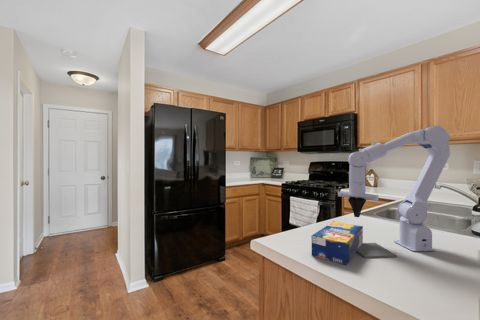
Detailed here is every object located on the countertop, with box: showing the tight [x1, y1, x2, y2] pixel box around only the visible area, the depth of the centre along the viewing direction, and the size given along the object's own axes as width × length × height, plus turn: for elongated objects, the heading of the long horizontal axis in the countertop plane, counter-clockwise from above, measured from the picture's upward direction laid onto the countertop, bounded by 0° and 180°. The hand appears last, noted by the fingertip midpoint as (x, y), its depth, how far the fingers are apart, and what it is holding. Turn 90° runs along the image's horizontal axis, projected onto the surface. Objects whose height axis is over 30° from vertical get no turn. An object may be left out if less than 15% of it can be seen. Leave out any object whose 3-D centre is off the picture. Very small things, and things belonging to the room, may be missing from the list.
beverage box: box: [311, 221, 364, 266], centre depth 82 cm, size 7×11×22 cm
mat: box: [356, 242, 398, 259], centre depth 80 cm, size 11×11×1 cm
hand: (357, 216), depth 90 cm, fingers closed
